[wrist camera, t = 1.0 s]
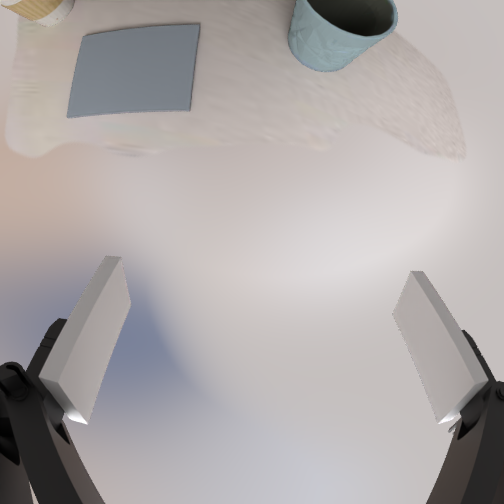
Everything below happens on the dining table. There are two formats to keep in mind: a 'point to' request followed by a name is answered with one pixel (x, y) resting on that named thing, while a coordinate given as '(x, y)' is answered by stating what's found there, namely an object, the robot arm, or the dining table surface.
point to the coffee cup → (40, 10)
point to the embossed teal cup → (338, 30)
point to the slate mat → (135, 71)
